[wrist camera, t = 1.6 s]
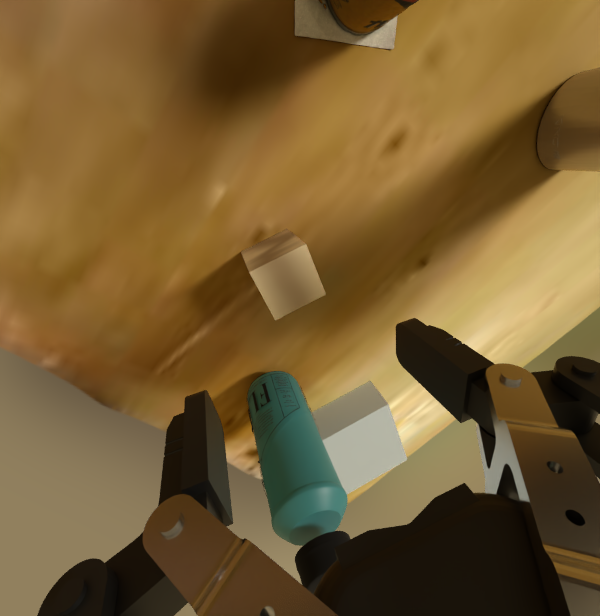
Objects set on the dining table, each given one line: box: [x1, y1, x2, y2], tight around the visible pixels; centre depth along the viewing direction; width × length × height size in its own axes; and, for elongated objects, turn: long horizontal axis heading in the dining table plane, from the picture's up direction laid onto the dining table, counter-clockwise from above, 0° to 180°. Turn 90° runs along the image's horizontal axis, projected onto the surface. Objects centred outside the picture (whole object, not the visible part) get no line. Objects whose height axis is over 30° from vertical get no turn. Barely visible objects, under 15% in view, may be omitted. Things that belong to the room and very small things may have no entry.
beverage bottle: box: [246, 371, 350, 594], centre depth 27 cm, size 6×7×20 cm
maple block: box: [241, 229, 326, 321], centre depth 27 cm, size 5×5×6 cm
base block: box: [311, 381, 407, 494], centre depth 42 cm, size 14×14×5 cm
